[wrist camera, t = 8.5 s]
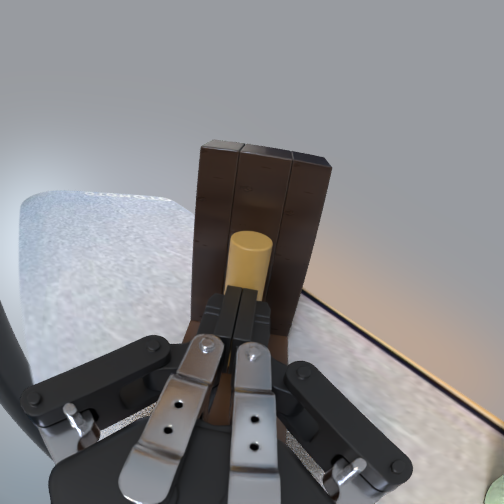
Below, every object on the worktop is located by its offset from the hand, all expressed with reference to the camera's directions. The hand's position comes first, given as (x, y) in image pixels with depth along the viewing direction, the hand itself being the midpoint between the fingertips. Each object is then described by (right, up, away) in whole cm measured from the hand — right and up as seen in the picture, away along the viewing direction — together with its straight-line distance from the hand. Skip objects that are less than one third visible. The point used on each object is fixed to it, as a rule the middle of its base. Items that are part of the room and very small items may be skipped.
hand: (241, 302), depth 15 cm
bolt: (0, -3, +5) cm, 6 cm away
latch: (-1, -6, +3) cm, 7 cm away
